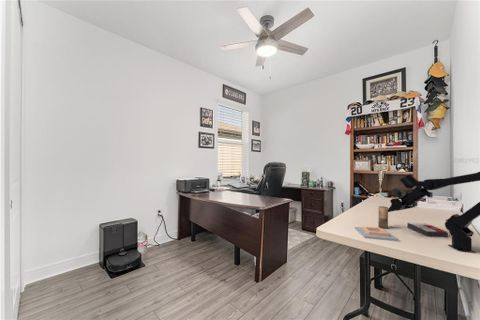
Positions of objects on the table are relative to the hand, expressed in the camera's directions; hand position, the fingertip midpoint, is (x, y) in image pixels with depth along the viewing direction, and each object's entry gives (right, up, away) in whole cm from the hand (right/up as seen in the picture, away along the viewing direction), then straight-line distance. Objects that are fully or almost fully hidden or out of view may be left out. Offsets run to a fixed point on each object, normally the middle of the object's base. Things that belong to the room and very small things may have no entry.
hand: (392, 210), depth 119 cm
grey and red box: (+18, -13, -3) cm, 22 cm away
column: (-3, -12, +4) cm, 13 cm away
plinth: (-16, -11, -8) cm, 21 cm away
